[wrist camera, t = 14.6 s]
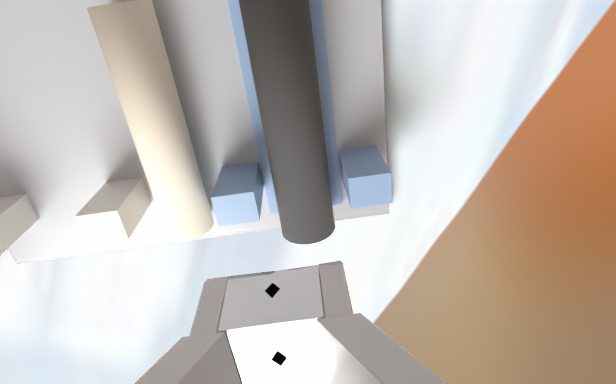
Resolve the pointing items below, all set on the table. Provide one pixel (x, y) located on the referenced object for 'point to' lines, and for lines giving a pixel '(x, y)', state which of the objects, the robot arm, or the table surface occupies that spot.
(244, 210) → the rod display rack
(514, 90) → the table surface
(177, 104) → the rod
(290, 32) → the dark gray rod
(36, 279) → the table surface
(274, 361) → the robot arm
